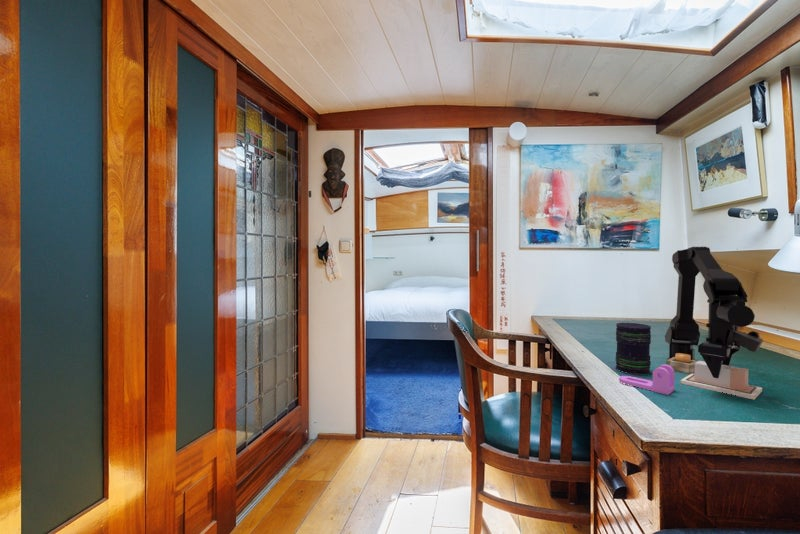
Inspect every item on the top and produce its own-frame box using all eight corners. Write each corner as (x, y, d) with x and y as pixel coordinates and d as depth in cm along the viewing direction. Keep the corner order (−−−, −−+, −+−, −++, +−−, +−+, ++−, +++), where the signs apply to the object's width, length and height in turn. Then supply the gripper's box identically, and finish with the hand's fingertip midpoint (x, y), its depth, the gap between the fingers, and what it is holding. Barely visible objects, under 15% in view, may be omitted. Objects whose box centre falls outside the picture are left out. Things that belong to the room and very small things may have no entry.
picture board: (680, 383, 111) (680, 379, 110) (691, 376, 117) (691, 372, 117) (754, 399, 98) (754, 395, 98) (762, 391, 104) (762, 386, 104)
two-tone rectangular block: (694, 380, 110) (694, 363, 110) (699, 377, 113) (699, 360, 113) (744, 390, 101) (744, 372, 101) (748, 387, 104) (748, 369, 104)
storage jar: (644, 377, 116) (645, 329, 116) (610, 370, 124) (611, 325, 123) (654, 370, 123) (655, 325, 123) (621, 364, 130) (622, 321, 130)
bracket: (674, 390, 105) (674, 366, 105) (668, 395, 102) (668, 370, 101) (623, 379, 115) (623, 356, 115) (616, 383, 111) (616, 360, 111)
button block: (666, 369, 124) (666, 360, 124) (673, 365, 129) (673, 356, 129) (692, 374, 119) (692, 365, 119) (699, 370, 123) (699, 361, 123)
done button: (673, 363, 124) (673, 354, 124) (677, 361, 126) (677, 352, 126) (688, 366, 121) (688, 357, 121) (692, 364, 123) (692, 355, 123)
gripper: (752, 328, 95) (751, 389, 95) (766, 320, 106) (765, 375, 106) (698, 322, 103) (696, 378, 104) (716, 315, 115) (715, 366, 115)
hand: (720, 374), depth 107 cm, fingers open, 9 cm apart
